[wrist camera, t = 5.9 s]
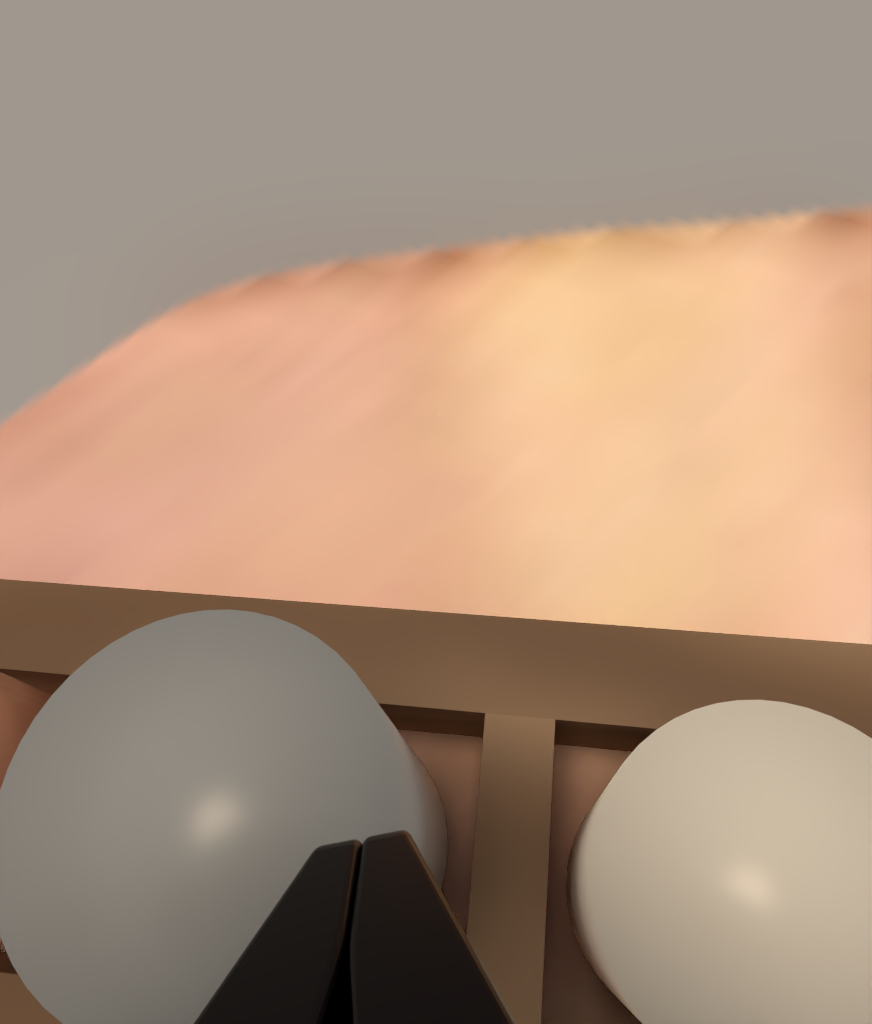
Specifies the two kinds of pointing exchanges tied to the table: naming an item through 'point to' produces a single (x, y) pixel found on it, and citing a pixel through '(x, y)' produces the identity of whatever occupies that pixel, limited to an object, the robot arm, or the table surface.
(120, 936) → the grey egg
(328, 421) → the table surface
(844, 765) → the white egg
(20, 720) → the tan domed cylinder
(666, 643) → the brown slotted rack
